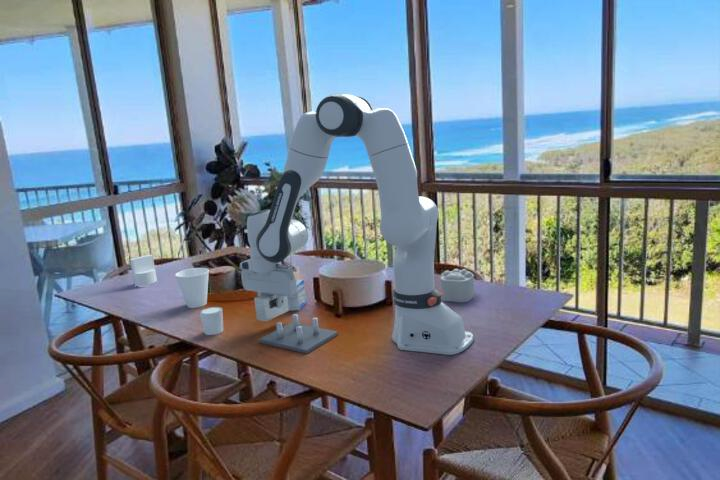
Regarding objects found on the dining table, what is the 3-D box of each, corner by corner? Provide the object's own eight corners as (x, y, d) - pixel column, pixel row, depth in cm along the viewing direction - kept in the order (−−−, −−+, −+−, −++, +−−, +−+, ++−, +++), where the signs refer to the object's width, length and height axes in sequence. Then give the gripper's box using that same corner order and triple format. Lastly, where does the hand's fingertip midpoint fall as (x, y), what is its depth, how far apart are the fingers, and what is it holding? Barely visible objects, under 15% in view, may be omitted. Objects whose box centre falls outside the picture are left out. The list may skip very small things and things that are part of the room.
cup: (208, 297, 198) (203, 265, 195) (218, 304, 188) (213, 271, 186) (176, 304, 192) (171, 272, 189) (185, 313, 182) (179, 279, 179)
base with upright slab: (152, 279, 229) (147, 253, 226) (160, 283, 222) (156, 256, 220) (131, 285, 223) (126, 258, 220) (139, 288, 216) (134, 261, 214)
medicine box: (299, 310, 175) (297, 286, 173) (287, 310, 176) (284, 286, 174) (306, 302, 183) (304, 279, 181) (294, 302, 184) (292, 279, 182)
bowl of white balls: (438, 300, 175) (437, 275, 173) (448, 288, 186) (447, 265, 184) (469, 302, 170) (468, 277, 168) (477, 290, 182) (477, 266, 180)
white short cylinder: (206, 327, 166) (203, 307, 165) (227, 326, 166) (224, 305, 165) (199, 336, 160) (196, 315, 158) (221, 335, 159) (218, 313, 158)
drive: (289, 310, 165) (286, 289, 164) (266, 321, 157) (263, 299, 156) (279, 308, 167) (276, 288, 166) (257, 319, 159) (254, 297, 158)
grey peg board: (337, 334, 153) (336, 317, 151) (307, 353, 141) (305, 334, 140) (291, 325, 163) (289, 308, 162) (259, 342, 152) (257, 324, 150)
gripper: (298, 262, 155) (304, 306, 158) (250, 258, 167) (256, 299, 170) (284, 268, 150) (290, 313, 153) (235, 263, 162) (242, 305, 165)
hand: (272, 306), depth 162 cm, fingers closed on drive, 4 cm apart
